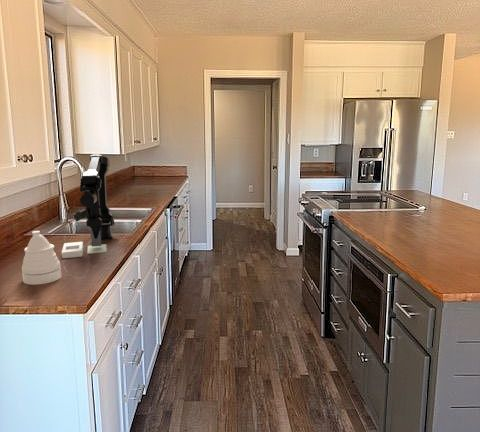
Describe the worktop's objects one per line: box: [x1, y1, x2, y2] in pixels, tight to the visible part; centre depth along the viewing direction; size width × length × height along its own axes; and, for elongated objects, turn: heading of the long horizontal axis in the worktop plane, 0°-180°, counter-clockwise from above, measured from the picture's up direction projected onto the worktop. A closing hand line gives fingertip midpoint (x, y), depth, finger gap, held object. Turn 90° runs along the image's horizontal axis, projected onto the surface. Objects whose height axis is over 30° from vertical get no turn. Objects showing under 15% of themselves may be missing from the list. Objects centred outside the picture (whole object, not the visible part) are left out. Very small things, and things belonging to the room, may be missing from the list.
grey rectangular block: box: [89, 227, 102, 247], centre depth 196 cm, size 4×4×8 cm
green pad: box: [86, 243, 107, 255], centre depth 197 cm, size 12×8×1 cm, turn 18°
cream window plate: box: [61, 241, 84, 259], centre depth 193 cm, size 16×8×2 cm, turn 18°
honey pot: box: [21, 230, 62, 286], centre depth 159 cm, size 13×13×18 cm
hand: (95, 237), depth 196 cm, fingers closed on grey rectangular block, 4 cm apart
